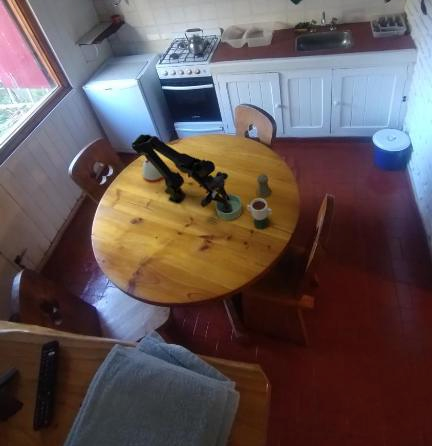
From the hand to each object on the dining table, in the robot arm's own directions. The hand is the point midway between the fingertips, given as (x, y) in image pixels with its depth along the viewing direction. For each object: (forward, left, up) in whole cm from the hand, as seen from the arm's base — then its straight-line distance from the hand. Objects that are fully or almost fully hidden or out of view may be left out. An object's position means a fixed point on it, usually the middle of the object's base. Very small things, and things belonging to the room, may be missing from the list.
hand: (227, 201), depth 158 cm
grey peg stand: (-1, 0, -7) cm, 7 cm away
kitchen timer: (-52, +11, -9) cm, 54 cm away
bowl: (-1, +2, -8) cm, 9 cm away
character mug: (+16, 0, -9) cm, 18 cm away
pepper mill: (+10, +18, -9) cm, 22 cm away
